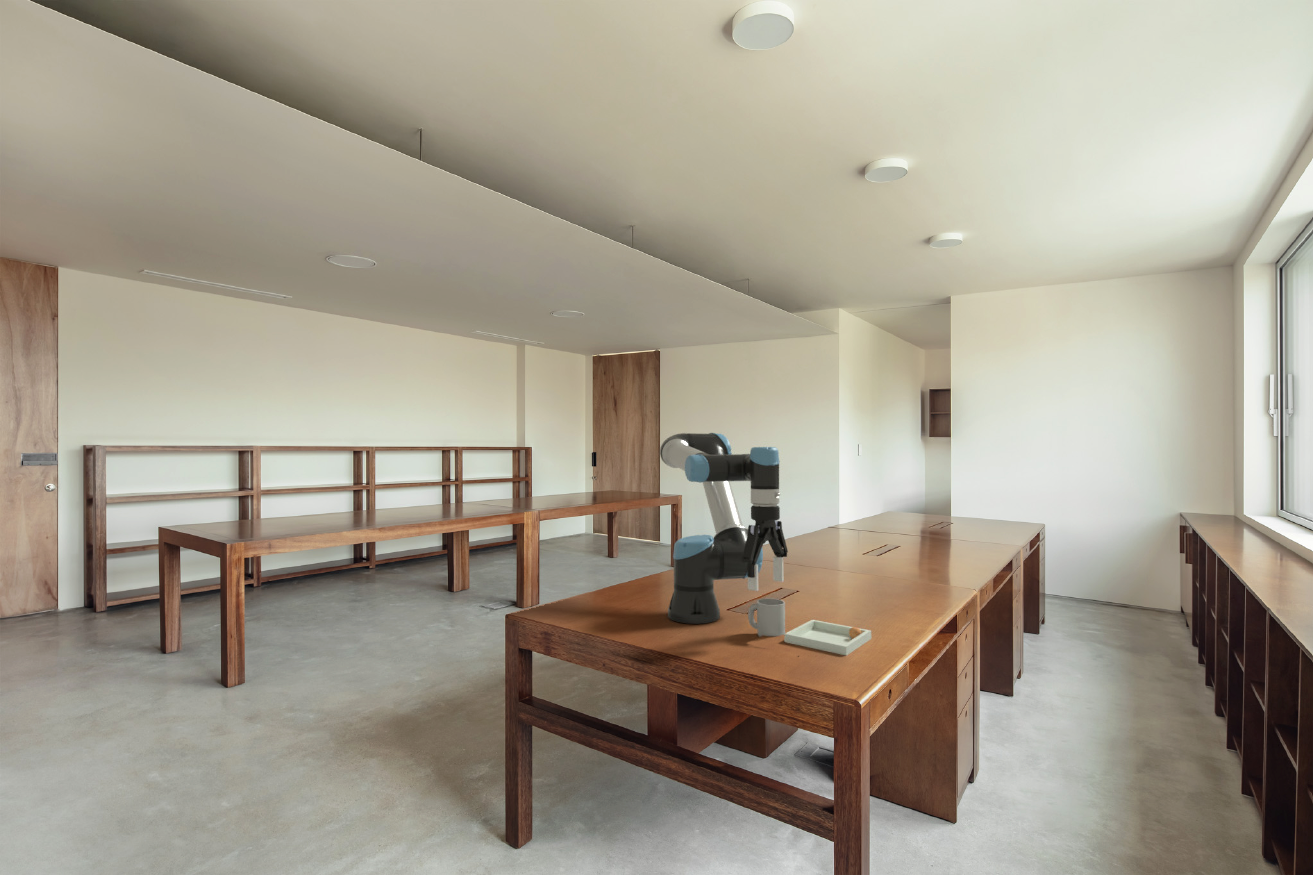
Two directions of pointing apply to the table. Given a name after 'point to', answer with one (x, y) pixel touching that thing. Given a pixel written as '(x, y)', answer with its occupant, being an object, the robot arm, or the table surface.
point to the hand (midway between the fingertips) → (766, 585)
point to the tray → (827, 637)
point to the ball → (854, 632)
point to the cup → (768, 617)
